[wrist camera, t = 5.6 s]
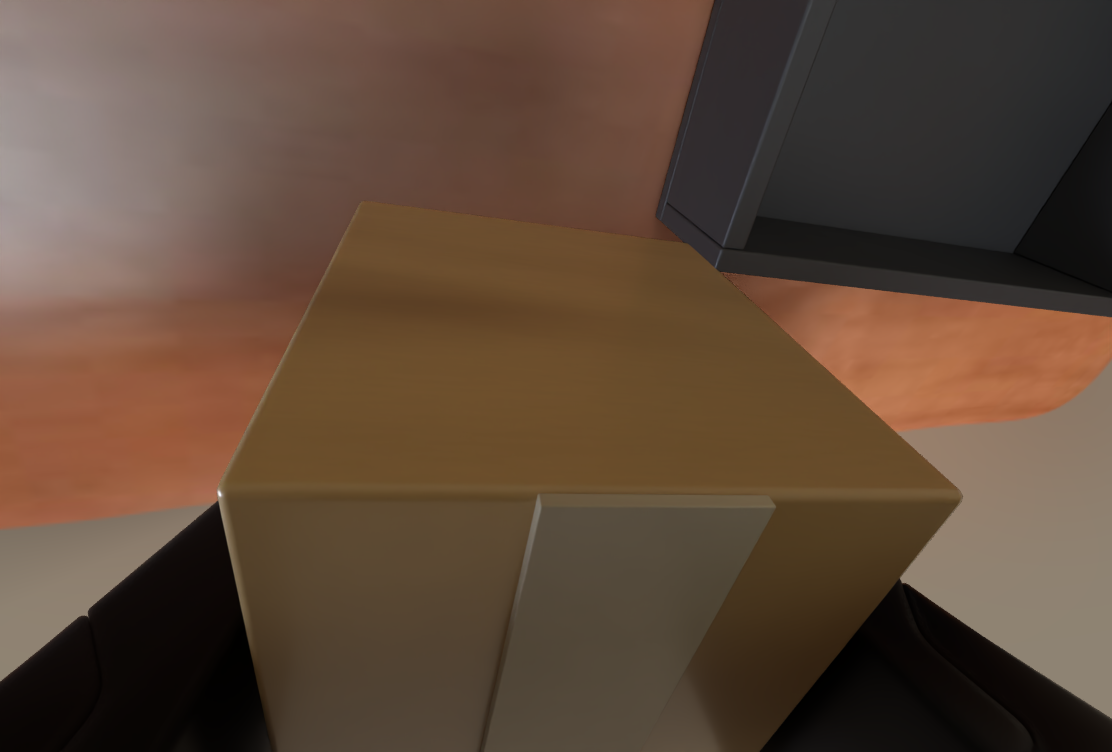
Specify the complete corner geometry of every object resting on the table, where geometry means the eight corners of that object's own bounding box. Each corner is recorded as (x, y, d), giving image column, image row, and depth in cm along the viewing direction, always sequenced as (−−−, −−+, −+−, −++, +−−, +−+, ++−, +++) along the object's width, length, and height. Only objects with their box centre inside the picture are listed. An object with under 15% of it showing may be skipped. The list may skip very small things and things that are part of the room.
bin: (1002, 265, 20) (1129, 320, 16) (654, 216, 17) (714, 271, 13) (1261, -131, 14) (1549, -186, 10) (804, -330, 11) (991, -514, 7)
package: (597, 528, 11) (694, 851, 7) (363, 530, 10) (299, 918, 5) (690, 241, 8) (986, 507, 3) (359, 198, 7) (199, 504, 2)
